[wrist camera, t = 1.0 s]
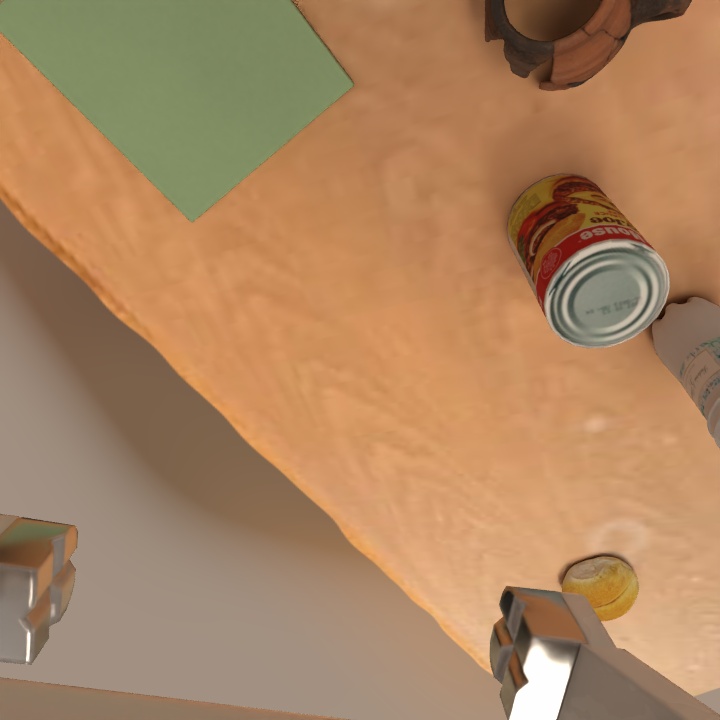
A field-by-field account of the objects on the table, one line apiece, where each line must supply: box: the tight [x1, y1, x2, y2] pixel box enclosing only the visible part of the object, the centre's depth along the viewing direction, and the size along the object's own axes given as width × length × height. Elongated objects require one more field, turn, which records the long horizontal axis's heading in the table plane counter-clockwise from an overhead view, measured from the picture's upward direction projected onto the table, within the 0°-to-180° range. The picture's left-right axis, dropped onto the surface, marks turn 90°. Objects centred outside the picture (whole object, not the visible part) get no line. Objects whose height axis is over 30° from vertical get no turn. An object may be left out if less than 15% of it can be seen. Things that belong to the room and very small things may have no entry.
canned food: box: [507, 174, 670, 348], centre depth 47 cm, size 8×8×12 cm
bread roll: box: [562, 556, 639, 621], centre depth 76 cm, size 8×9×4 cm
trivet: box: [0, 0, 354, 222], centre depth 44 cm, size 18×16×1 cm
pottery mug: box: [485, 0, 692, 91], centre depth 41 cm, size 12×10×8 cm
